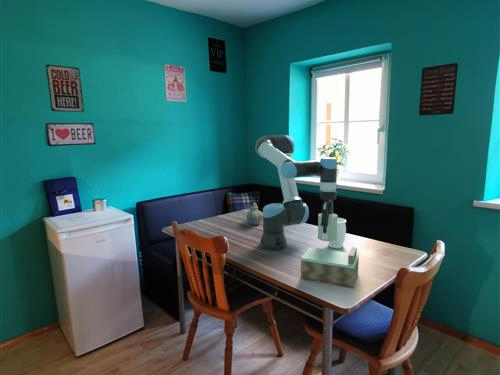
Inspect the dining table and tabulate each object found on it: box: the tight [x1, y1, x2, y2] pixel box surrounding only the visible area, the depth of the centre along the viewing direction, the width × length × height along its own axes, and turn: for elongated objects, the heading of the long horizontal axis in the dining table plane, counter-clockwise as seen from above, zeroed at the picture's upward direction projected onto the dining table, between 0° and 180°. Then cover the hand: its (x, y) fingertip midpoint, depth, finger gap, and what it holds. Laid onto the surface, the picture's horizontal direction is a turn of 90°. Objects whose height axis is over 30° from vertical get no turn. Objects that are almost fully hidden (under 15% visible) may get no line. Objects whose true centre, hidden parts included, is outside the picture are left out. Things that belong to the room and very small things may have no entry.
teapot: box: [246, 202, 263, 226], centre depth 219 cm, size 21×12×15 cm, turn 179°
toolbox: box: [300, 256, 360, 289], centre depth 138 cm, size 22×14×8 cm, turn 64°
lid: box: [300, 246, 360, 269], centre depth 137 cm, size 22×14×5 cm, turn 64°
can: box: [317, 212, 339, 242], centre depth 152 cm, size 9×9×12 cm
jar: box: [327, 217, 347, 249], centre depth 174 cm, size 11×10×15 cm
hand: (327, 236), depth 153 cm, fingers closed on can, 9 cm apart
